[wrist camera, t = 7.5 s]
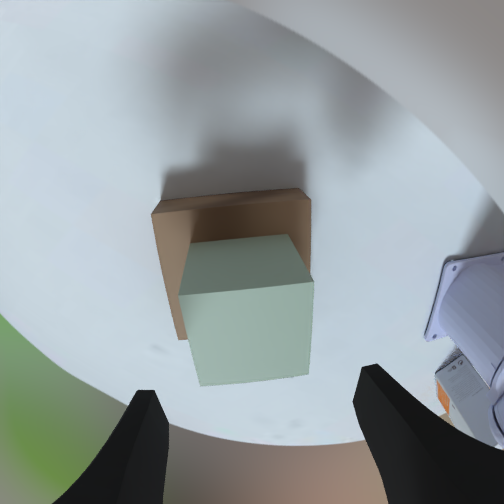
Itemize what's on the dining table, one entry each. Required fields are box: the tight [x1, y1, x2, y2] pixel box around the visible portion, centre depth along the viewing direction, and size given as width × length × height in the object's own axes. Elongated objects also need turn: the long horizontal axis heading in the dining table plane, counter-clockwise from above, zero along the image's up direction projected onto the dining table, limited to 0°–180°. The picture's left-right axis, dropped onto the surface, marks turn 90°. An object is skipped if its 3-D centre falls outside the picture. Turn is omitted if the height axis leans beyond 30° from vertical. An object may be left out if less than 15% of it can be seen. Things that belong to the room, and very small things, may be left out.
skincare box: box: [435, 355, 503, 449], centre depth 22 cm, size 6×4×12 cm
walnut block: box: [151, 188, 311, 340], centre depth 18 cm, size 8×8×3 cm
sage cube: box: [178, 234, 314, 386], centre depth 14 cm, size 5×5×5 cm
